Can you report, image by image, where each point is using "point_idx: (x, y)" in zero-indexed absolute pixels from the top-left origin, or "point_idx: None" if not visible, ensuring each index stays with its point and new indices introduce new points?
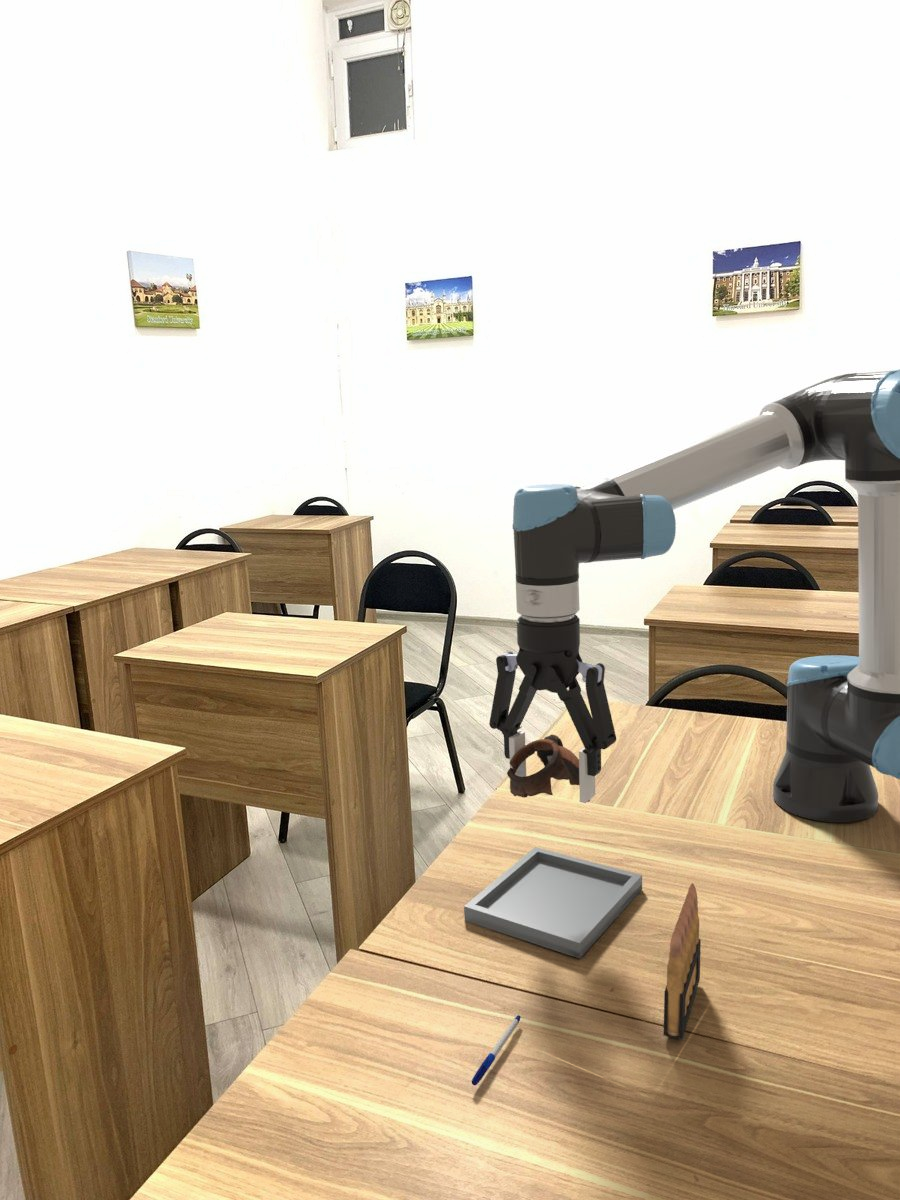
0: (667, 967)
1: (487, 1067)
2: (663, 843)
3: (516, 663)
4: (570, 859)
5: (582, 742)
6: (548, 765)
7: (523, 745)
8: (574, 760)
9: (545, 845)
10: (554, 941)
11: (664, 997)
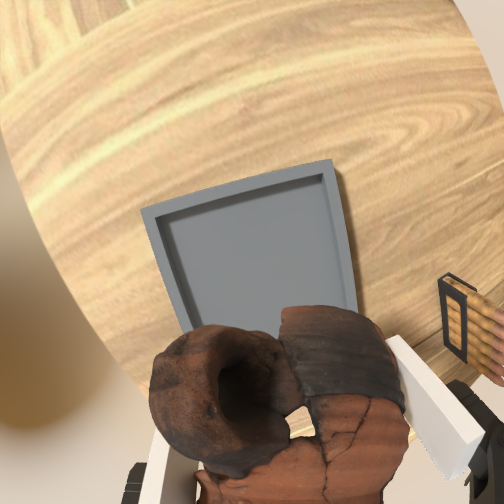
0: (478, 371)
1: None
2: (260, 32)
3: None
4: (212, 198)
5: (470, 495)
6: None
7: (168, 489)
8: (403, 450)
9: (128, 165)
10: None
11: (462, 360)
